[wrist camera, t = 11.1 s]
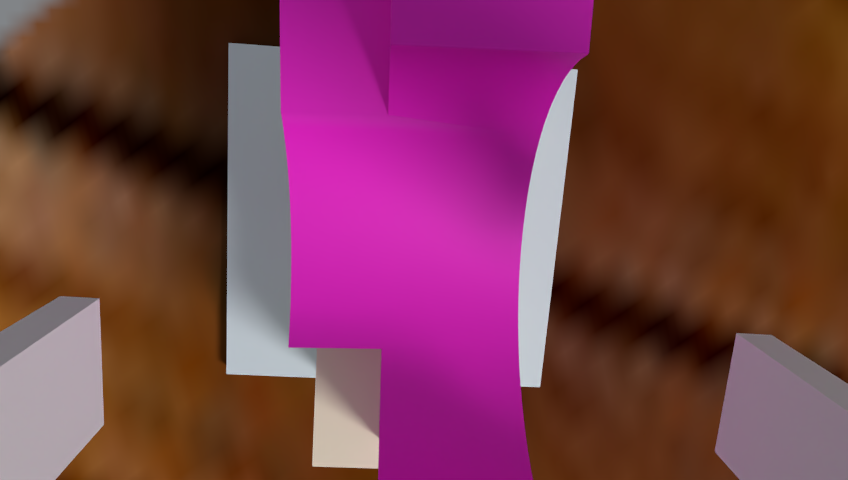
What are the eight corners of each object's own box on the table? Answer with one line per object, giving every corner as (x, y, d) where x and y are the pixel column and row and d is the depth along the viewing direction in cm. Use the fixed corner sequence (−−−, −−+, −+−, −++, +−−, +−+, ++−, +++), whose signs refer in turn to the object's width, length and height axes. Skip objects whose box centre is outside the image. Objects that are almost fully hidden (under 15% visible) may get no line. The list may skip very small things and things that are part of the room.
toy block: (304, -40, 19) (251, -122, 11) (519, -28, 19) (602, -101, 12) (304, 437, 22) (264, 609, 15) (488, 438, 22) (538, 607, 15)
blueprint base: (573, 70, 27) (643, 62, 20) (536, 381, 30) (585, 475, 23) (231, 43, 26) (172, 25, 19) (229, 368, 29) (176, 461, 22)
